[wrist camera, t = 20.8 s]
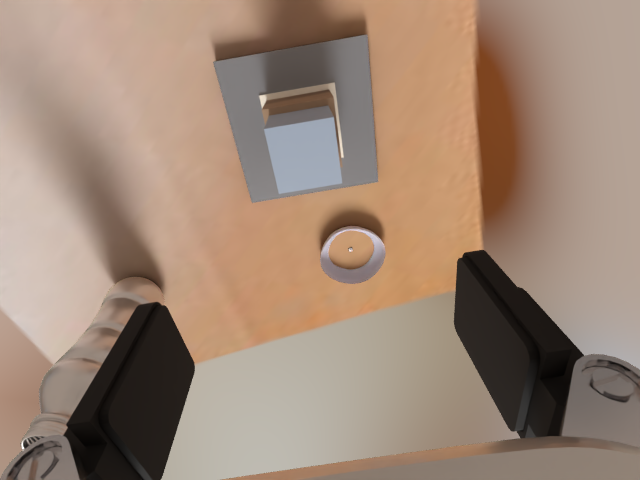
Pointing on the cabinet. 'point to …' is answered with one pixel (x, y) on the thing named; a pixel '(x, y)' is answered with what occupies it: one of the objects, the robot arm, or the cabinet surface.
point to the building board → (294, 79)
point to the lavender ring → (346, 274)
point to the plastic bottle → (87, 357)
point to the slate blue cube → (303, 149)
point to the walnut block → (302, 107)
